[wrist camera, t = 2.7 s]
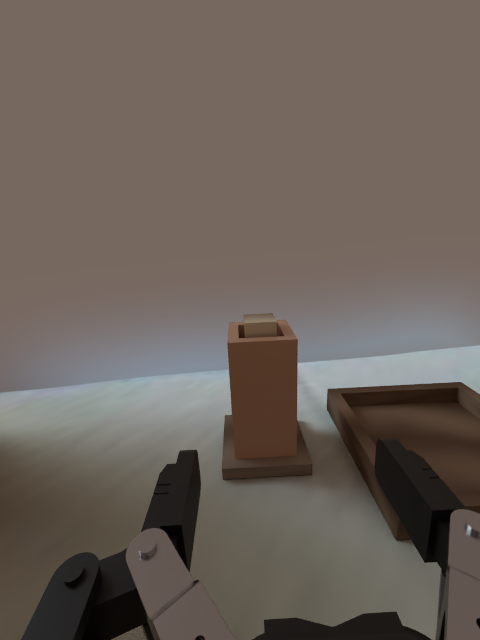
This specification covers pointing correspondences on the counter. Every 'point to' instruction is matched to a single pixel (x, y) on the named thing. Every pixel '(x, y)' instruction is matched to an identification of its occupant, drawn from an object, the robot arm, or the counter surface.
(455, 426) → the tray
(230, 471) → the post
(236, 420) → the sleeve
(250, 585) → the counter surface
